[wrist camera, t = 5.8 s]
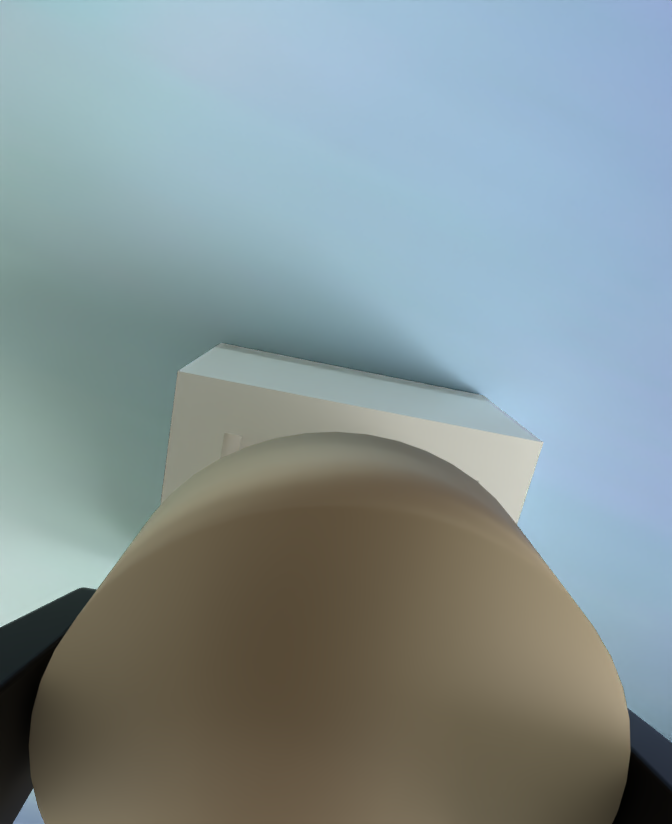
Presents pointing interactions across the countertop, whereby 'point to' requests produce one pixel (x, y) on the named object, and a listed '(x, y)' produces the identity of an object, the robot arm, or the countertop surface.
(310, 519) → the cork lid
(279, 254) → the countertop surface
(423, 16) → the countertop surface
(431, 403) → the open white box
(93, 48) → the countertop surface
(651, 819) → the robot arm
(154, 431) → the countertop surface
